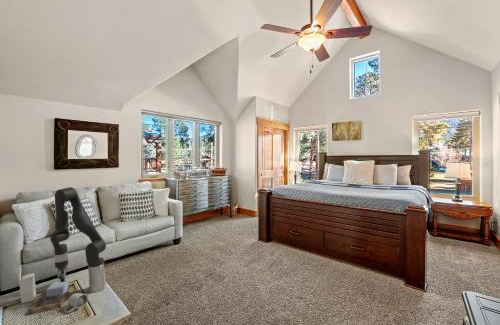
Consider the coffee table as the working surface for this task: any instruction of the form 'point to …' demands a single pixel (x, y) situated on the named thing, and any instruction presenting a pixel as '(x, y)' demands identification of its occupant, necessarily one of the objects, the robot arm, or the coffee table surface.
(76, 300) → the ceramic mug
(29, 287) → the skincare box
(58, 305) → the display bay
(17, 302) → the coffee table surface
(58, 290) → the slate carton
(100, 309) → the coffee table surface
